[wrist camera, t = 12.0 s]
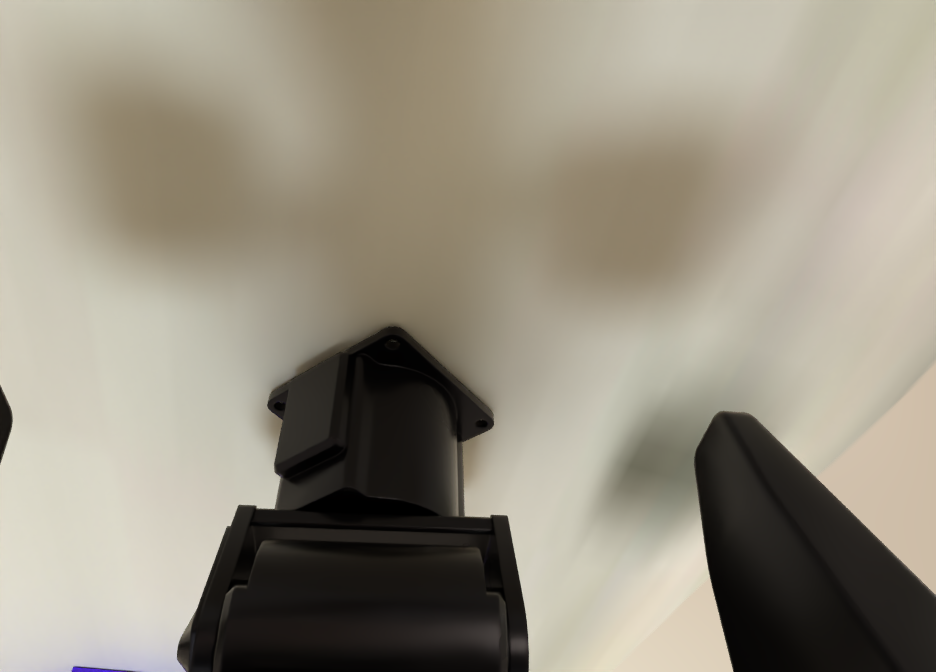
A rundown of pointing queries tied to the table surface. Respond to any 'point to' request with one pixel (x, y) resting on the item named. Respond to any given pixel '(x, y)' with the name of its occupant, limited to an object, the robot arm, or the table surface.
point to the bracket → (91, 670)
